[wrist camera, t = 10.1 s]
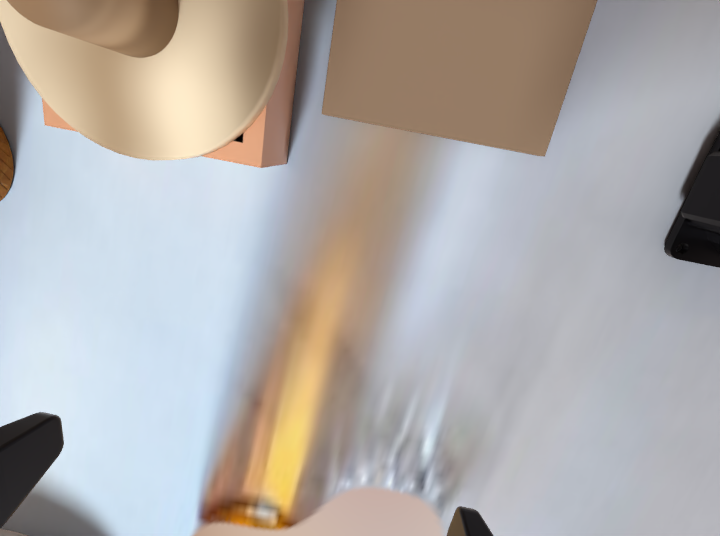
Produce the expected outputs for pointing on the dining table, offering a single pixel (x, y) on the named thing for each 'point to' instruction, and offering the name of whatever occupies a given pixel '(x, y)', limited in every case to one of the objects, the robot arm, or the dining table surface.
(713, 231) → the robot arm
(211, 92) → the lid
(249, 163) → the dish
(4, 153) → the disposable coffee cup
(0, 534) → the lumpy-topped squat cylinder
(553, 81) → the mat
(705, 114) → the dining table surface
